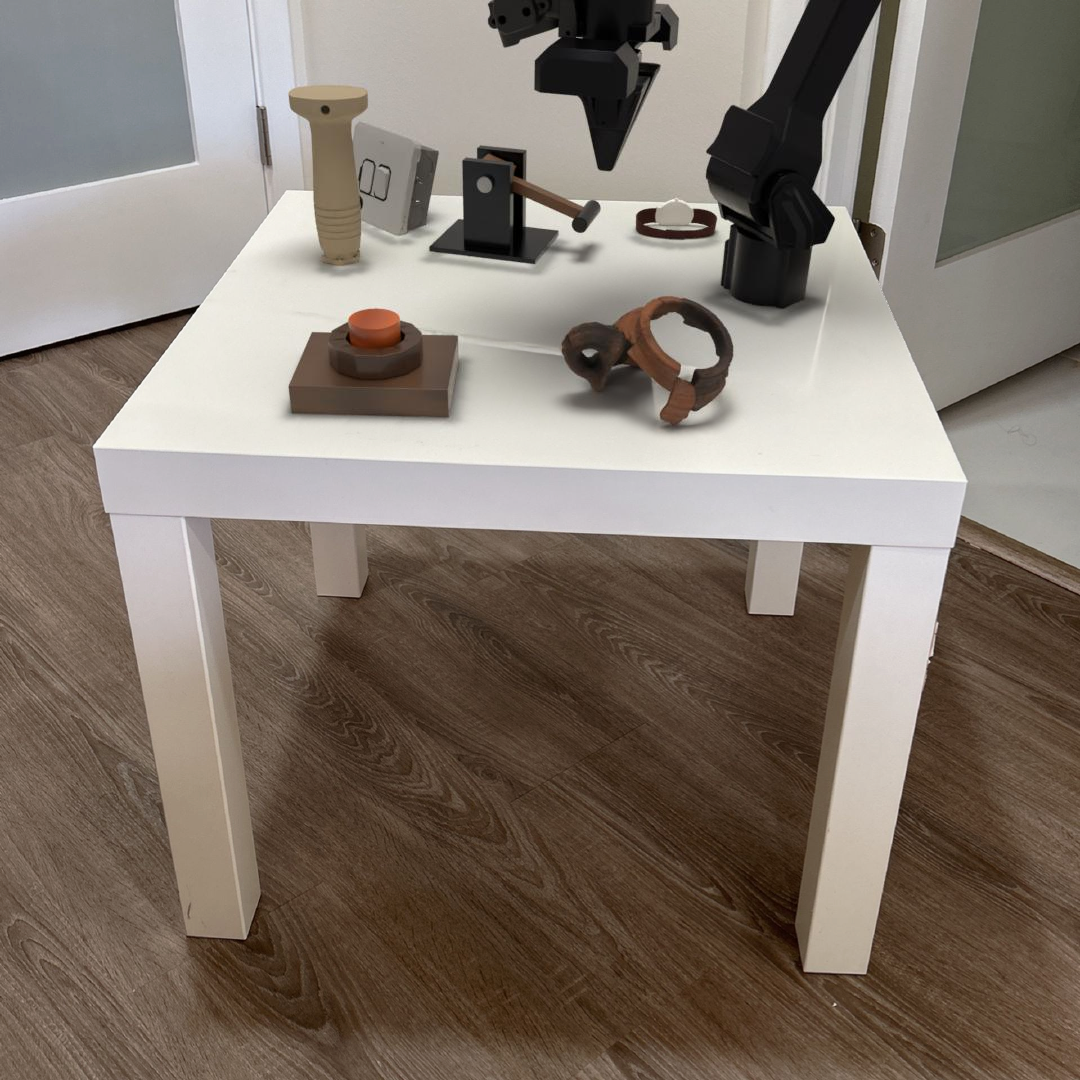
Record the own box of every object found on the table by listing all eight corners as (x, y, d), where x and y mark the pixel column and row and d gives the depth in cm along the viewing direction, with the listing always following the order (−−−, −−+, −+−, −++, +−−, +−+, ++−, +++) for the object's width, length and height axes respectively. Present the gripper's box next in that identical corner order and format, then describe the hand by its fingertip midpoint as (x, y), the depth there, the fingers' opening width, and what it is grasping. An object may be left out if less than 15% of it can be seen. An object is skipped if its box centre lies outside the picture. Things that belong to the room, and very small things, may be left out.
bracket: (558, 242, 112) (561, 148, 107) (534, 272, 105) (536, 173, 100) (458, 230, 114) (456, 137, 109) (429, 259, 107) (425, 161, 102)
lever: (595, 222, 108) (605, 198, 106) (582, 240, 104) (591, 216, 102) (485, 173, 108) (493, 148, 107) (467, 189, 104) (475, 164, 103)
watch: (711, 231, 115) (715, 194, 113) (718, 248, 111) (722, 210, 109) (632, 230, 115) (634, 193, 113) (636, 247, 111) (638, 209, 109)
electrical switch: (339, 219, 116) (340, 121, 111) (382, 213, 119) (384, 117, 114) (397, 245, 110) (400, 143, 106) (440, 238, 114) (445, 138, 109)
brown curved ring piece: (675, 361, 91) (728, 291, 85) (701, 463, 87) (759, 396, 80) (533, 341, 87) (577, 265, 80) (552, 447, 82) (601, 375, 76)
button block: (458, 362, 90) (457, 312, 88) (448, 418, 82) (447, 365, 80) (314, 358, 90) (309, 309, 88) (291, 414, 82) (285, 361, 80)
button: (403, 331, 86) (402, 308, 85) (397, 352, 83) (396, 329, 82) (354, 330, 86) (352, 307, 85) (346, 351, 83) (344, 328, 82)
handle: (375, 277, 104) (364, 100, 95) (302, 276, 103) (284, 99, 95) (380, 257, 108) (370, 85, 99) (309, 256, 107) (293, 84, 99)
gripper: (540, -87, 88) (536, 127, 97) (456, -54, 73) (461, 196, 82) (688, -79, 85) (670, 140, 94) (632, -43, 71) (618, 213, 79)
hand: (605, 169), depth 87 cm, fingers closed
